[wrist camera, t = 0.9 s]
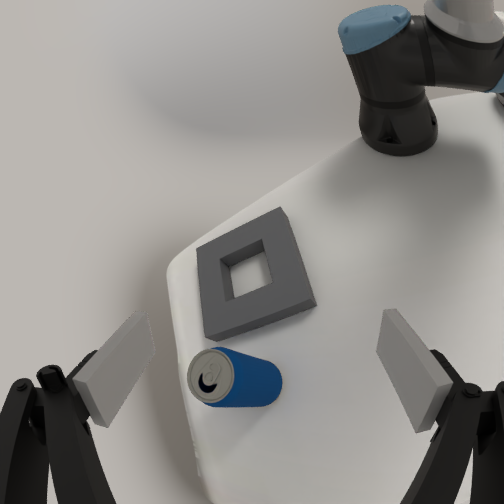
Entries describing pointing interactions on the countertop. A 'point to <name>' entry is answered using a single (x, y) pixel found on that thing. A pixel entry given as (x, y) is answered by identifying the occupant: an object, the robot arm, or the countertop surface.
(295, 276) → the socket plate
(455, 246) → the countertop surface
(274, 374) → the beverage can
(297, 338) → the countertop surface
